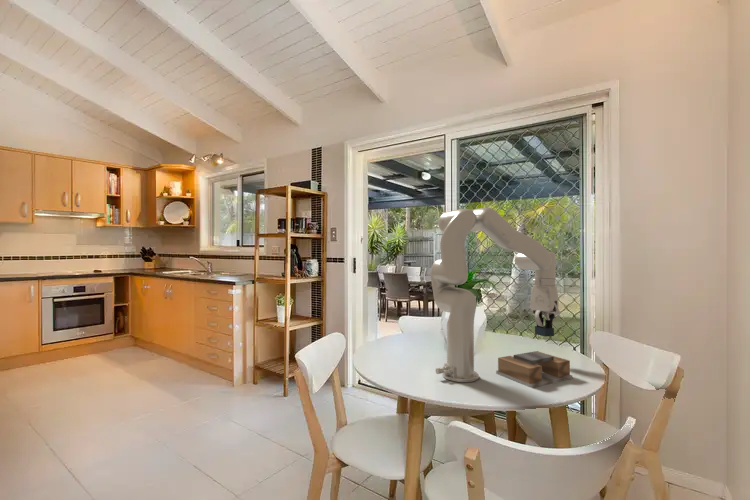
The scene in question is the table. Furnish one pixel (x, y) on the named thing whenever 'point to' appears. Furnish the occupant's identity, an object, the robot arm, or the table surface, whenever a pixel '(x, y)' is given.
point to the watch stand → (534, 368)
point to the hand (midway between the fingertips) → (544, 328)
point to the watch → (540, 330)
